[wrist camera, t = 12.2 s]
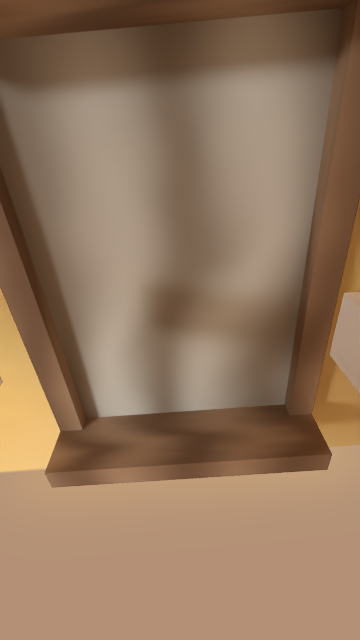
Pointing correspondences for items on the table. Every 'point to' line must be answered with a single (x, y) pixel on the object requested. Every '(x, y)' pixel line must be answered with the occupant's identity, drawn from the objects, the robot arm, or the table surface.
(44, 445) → the table surface
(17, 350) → the table surface
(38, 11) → the wooden window with sill
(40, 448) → the table surface
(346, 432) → the table surface
